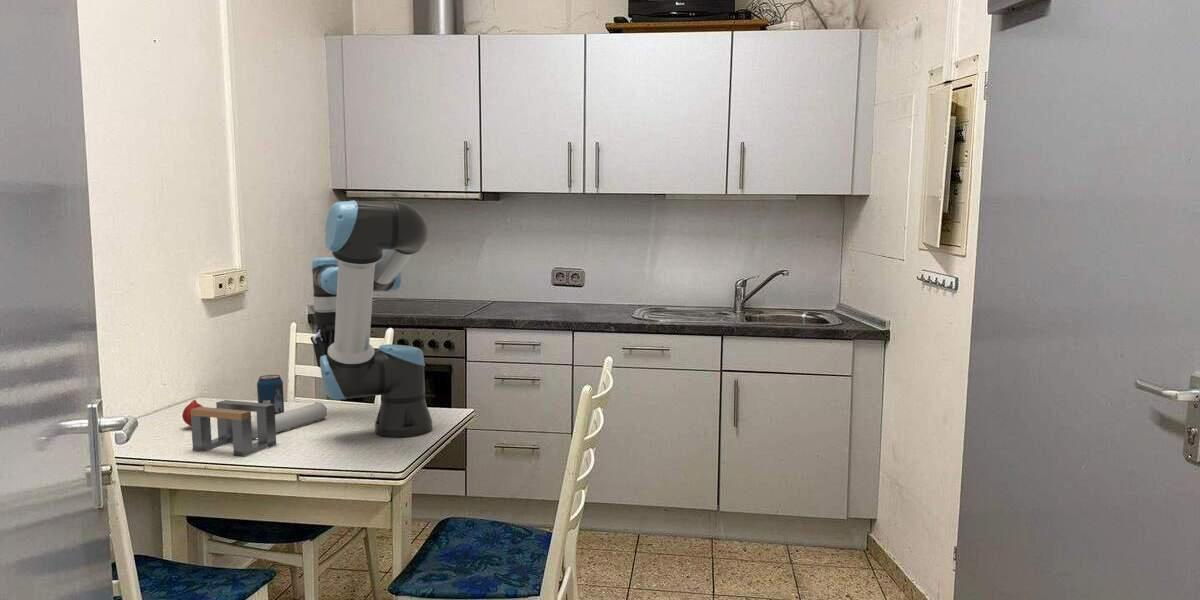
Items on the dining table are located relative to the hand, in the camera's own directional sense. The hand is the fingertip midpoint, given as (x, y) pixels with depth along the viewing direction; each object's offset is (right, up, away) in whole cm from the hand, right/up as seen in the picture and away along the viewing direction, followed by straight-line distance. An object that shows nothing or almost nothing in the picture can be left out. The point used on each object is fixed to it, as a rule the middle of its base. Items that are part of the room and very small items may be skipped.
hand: (330, 389), depth 234 cm
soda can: (-16, -8, -2) cm, 18 cm away
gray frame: (-12, -11, -34) cm, 38 cm away
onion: (-33, -9, -14) cm, 37 cm away
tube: (-7, -9, -16) cm, 20 cm away
